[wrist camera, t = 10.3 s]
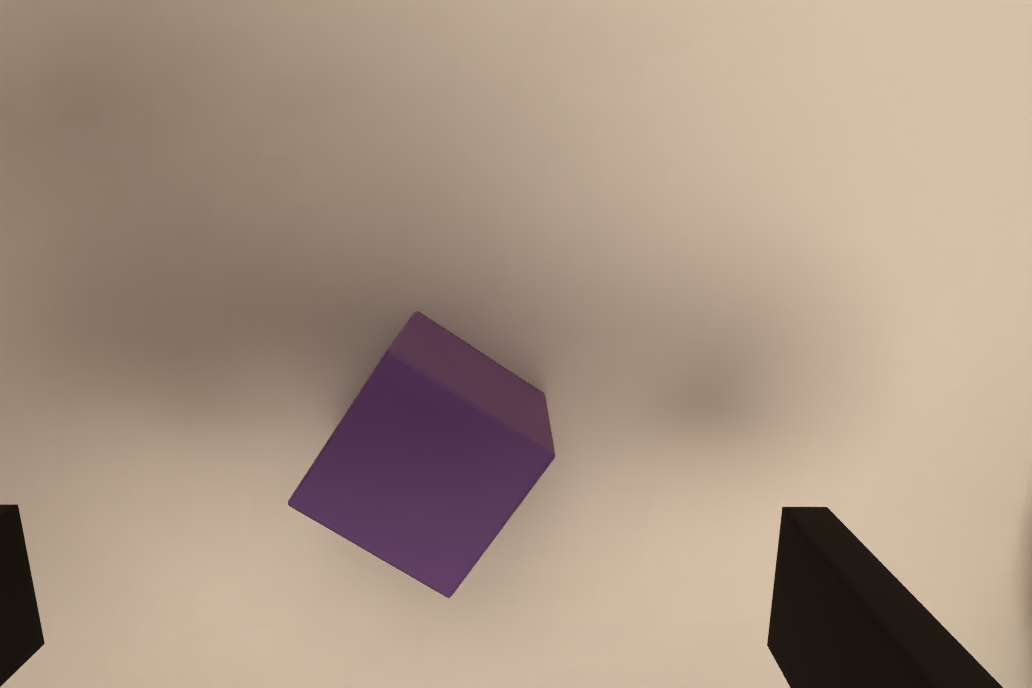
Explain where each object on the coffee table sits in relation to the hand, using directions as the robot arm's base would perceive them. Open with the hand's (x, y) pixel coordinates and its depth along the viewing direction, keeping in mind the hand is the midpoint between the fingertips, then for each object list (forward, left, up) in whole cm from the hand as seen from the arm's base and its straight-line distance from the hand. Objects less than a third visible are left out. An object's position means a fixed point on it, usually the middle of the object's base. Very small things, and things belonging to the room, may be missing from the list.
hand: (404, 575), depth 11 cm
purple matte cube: (0, 0, -8) cm, 8 cm away
